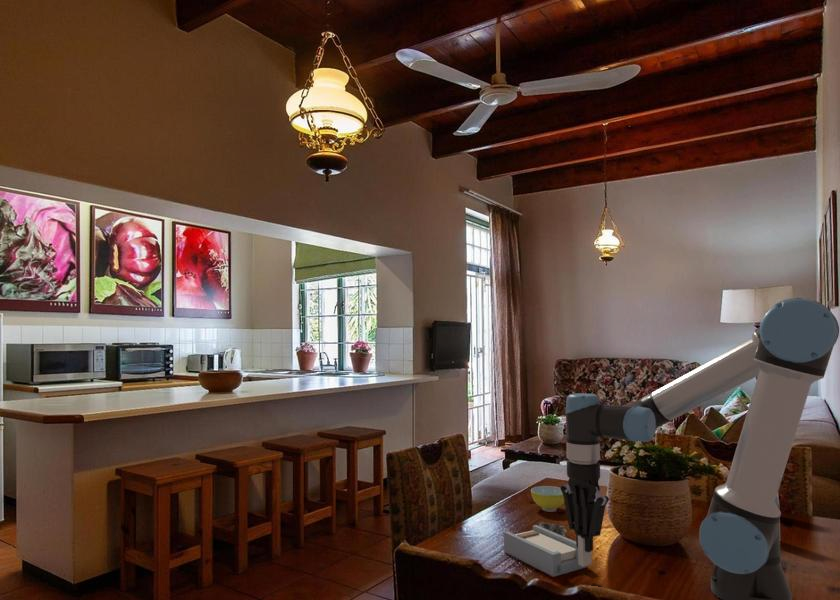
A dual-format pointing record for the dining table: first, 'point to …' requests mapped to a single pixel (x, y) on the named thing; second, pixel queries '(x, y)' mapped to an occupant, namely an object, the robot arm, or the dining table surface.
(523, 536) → the lid
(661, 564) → the dining table surface
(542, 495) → the bowl
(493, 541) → the dining table surface
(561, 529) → the egg carton
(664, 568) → the dining table surface
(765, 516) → the robot arm
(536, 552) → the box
